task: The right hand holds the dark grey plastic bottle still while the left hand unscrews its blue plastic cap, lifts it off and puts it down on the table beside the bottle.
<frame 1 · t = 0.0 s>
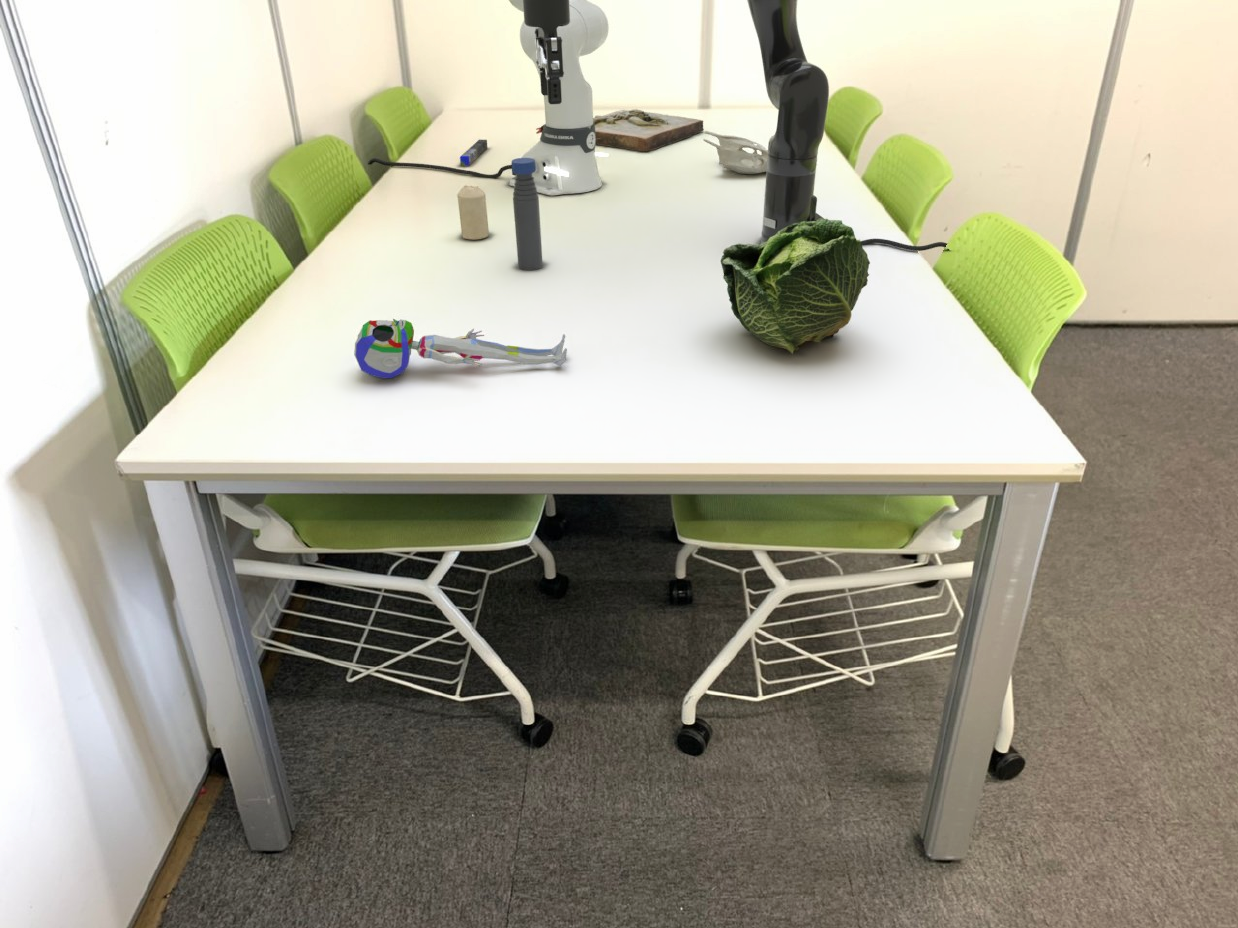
right hand: (551, 99, 154), 29 cm above the table, tool pointing down, fingers open, 8 cm apart
cap: (523, 162, 158), point 19 cm above the table, screwed on, not yet turned
plaque: (633, 136, 259), on the table
pillar: (474, 157, 240), on the table
candle: (475, 236, 184), on the table
bottle: (530, 266, 169), on the table
vegetable: (790, 339, 139), on the table
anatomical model: (752, 171, 224), on the table
toy: (464, 369, 132), on the table
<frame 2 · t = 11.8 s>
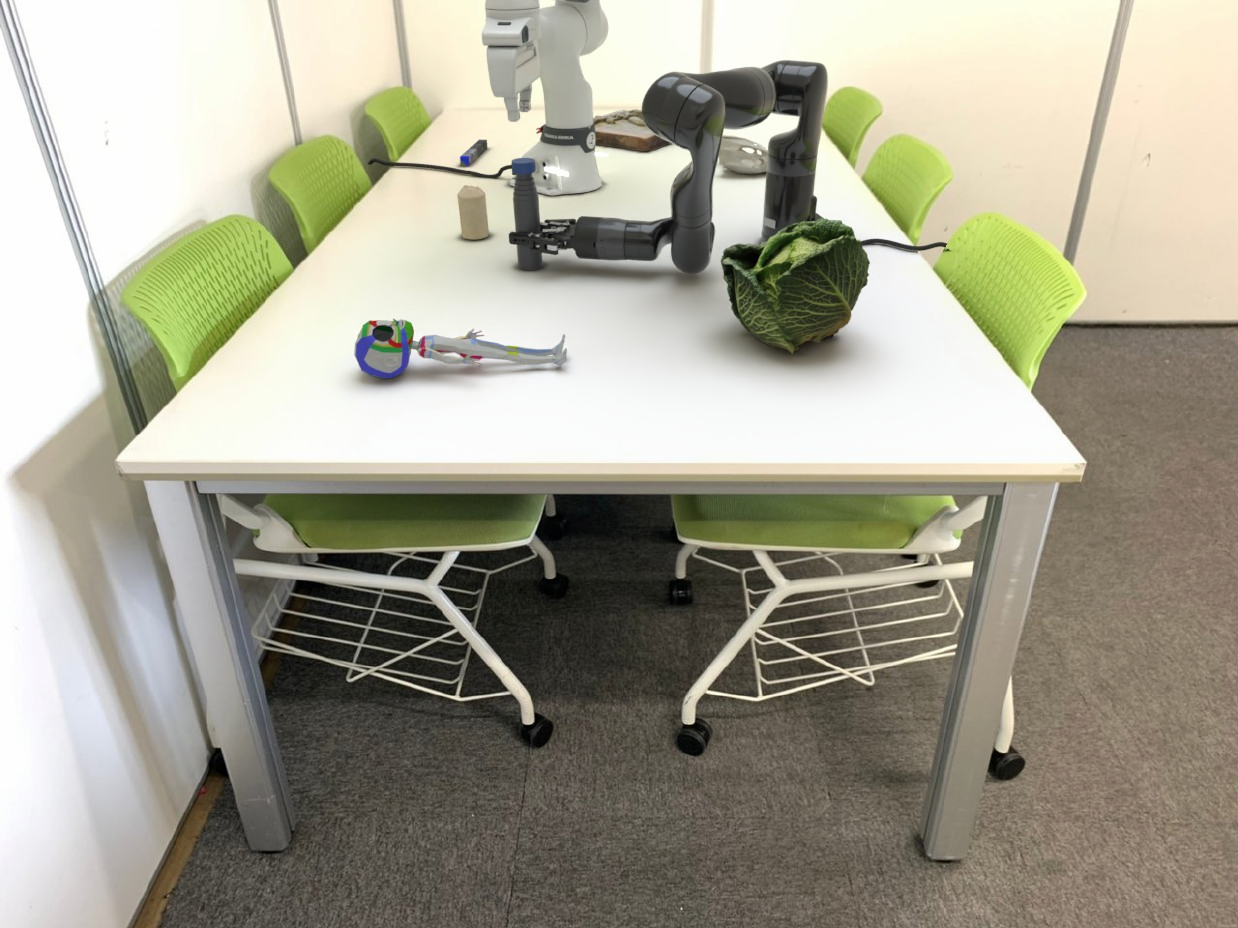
left hand: (519, 116, 154), 27 cm above the table, tool pointing down, fingers open, 6 cm apart
right hand: (514, 233, 166), 6 cm above the table, tool horizontal, fingers closed on bottle, 4 cm apart
bottle: (530, 266, 169), on the table, touching right hand
everything else where it was.
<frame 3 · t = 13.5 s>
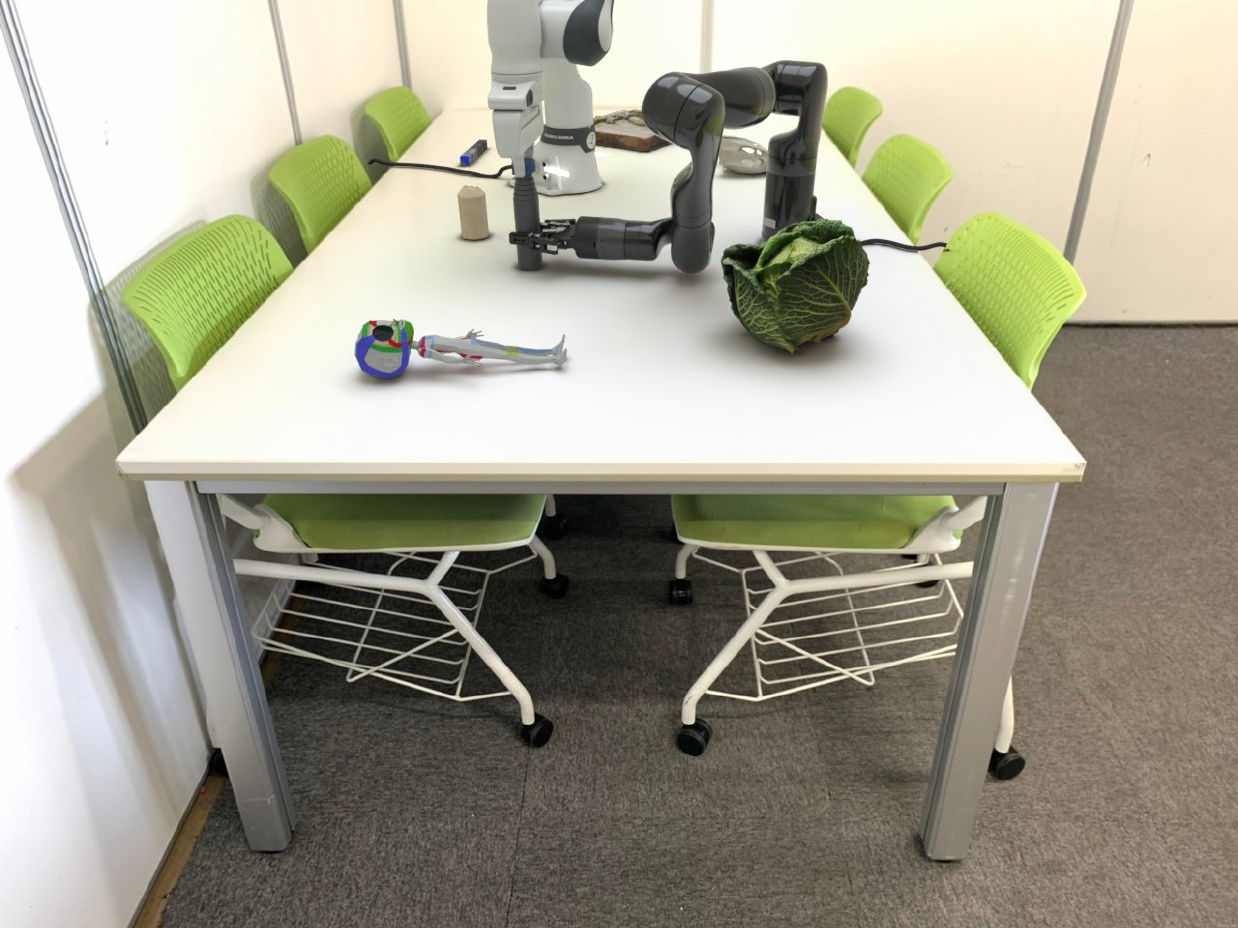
left hand: (524, 172, 159), 17 cm above the table, tool pointing down, fingers closed on cap, 4 cm apart
right hand: (514, 233, 166), 6 cm above the table, tool horizontal, fingers closed on bottle, 4 cm apart
cap: (523, 162, 158), point 19 cm above the table, screwed on, not yet turned, touching left hand
bottle: (530, 266, 169), on the table, touching right hand
everything else where it was.
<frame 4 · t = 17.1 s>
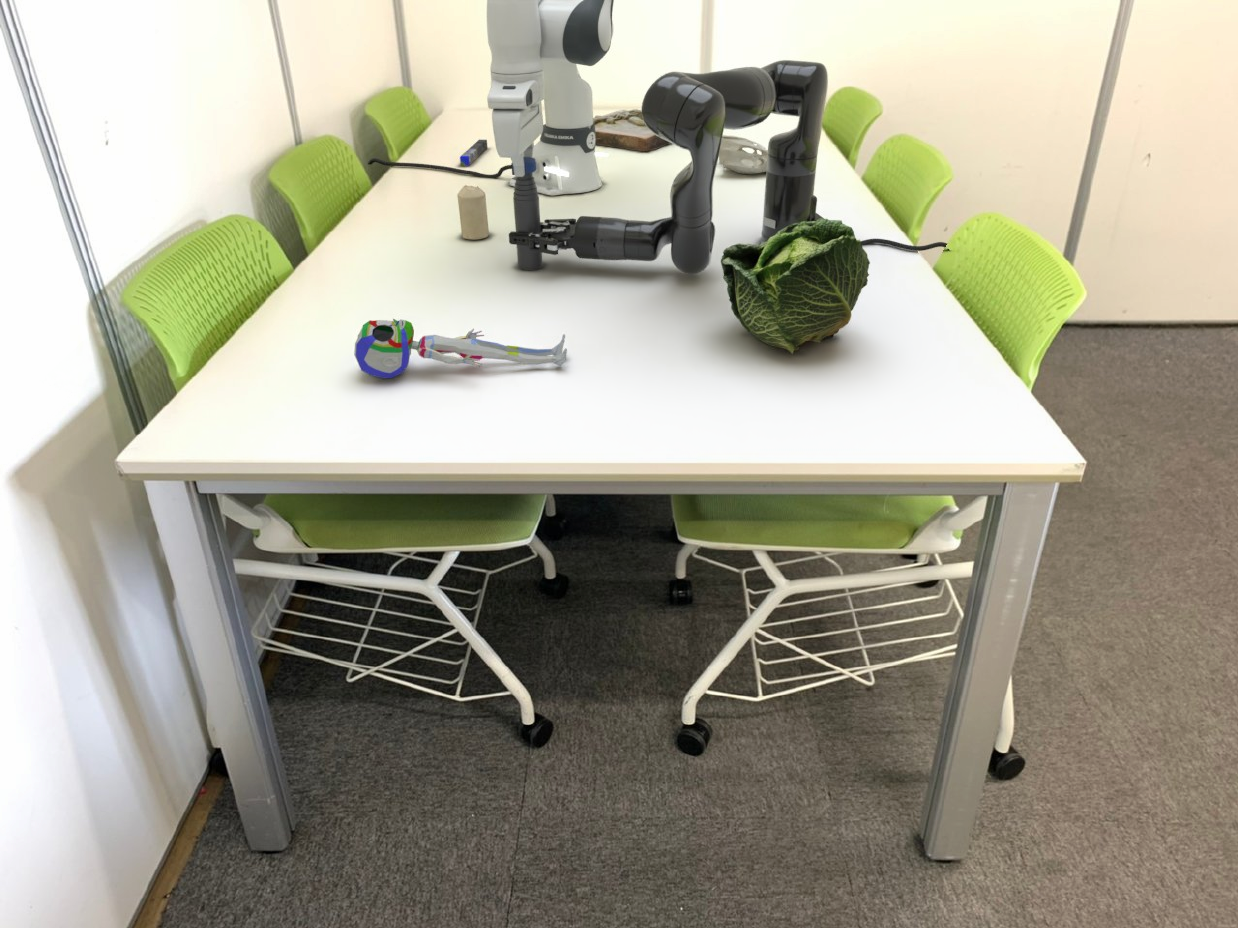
left hand: (523, 172, 159), 17 cm above the table, tool pointing down, fingers closed on cap, 4 cm apart
right hand: (514, 233, 166), 6 cm above the table, tool horizontal, fingers closed on bottle, 4 cm apart
cap: (523, 161, 158), point 19 cm above the table, turned 93° so far, risen 0.1 cm, still on its thread, touching left hand
bottle: (530, 266, 169), on the table, touching right hand
everything else where it was.
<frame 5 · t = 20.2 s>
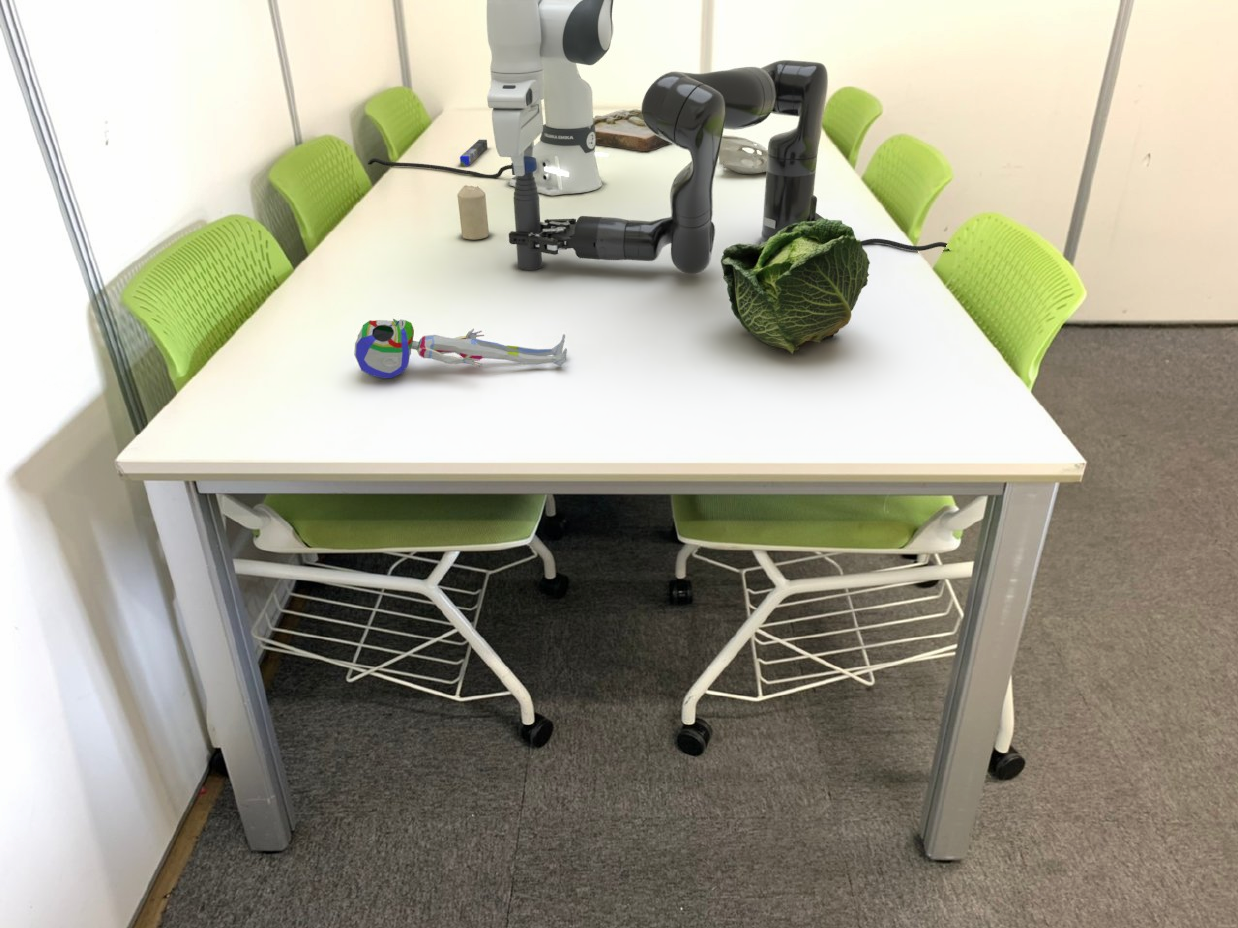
left hand: (523, 171, 159), 17 cm above the table, tool pointing down, fingers closed on cap, 4 cm apart
right hand: (514, 233, 166), 6 cm above the table, tool horizontal, fingers closed on bottle, 4 cm apart
cap: (524, 161, 158), point 19 cm above the table, turned 186° so far, risen 0.2 cm, still on its thread, touching left hand
bottle: (530, 265, 169), on the table, touching right hand
everything else where it was.
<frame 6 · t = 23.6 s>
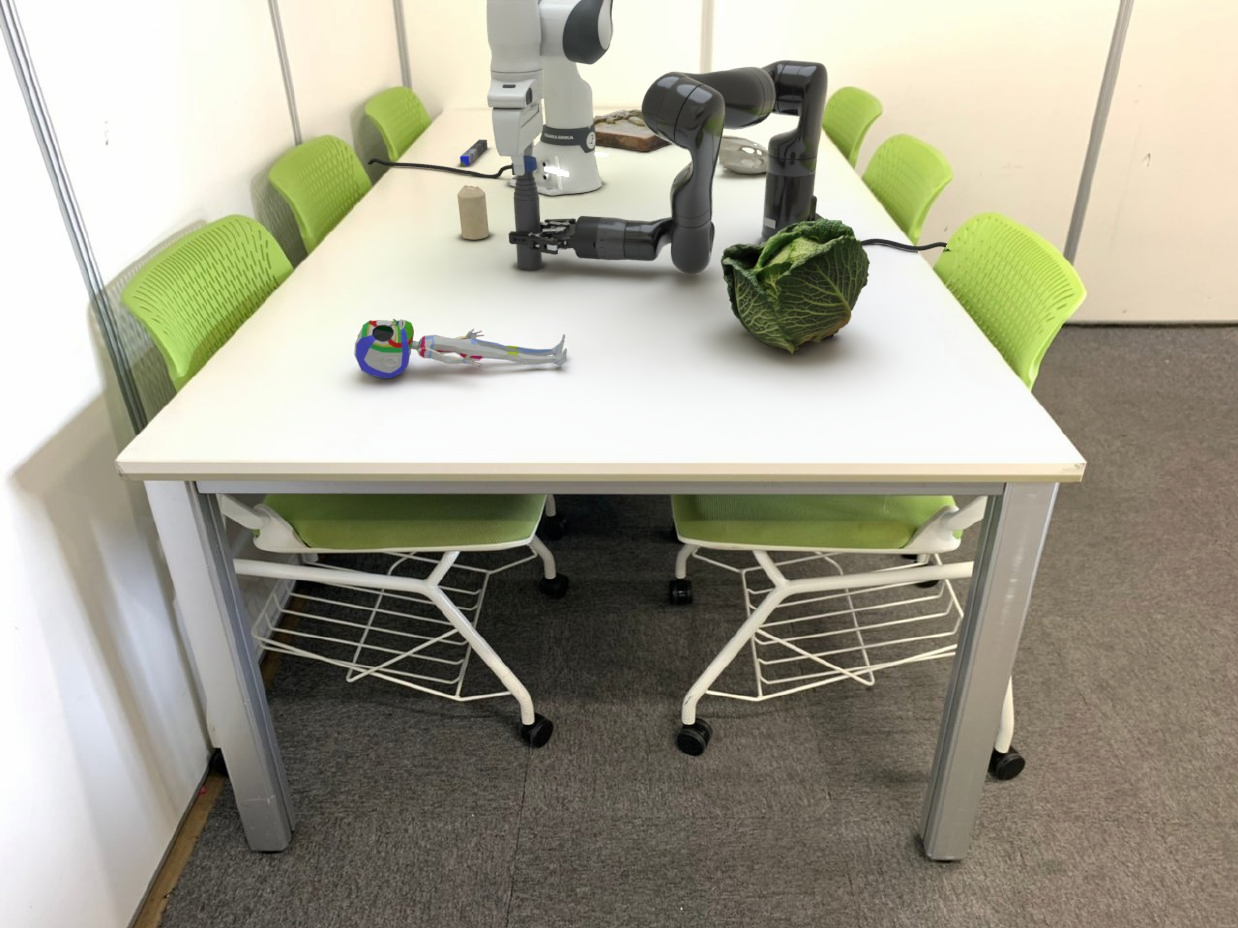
left hand: (523, 170, 159), 18 cm above the table, tool pointing down, fingers closed on cap, 4 cm apart
right hand: (514, 233, 166), 6 cm above the table, tool horizontal, fingers closed on bottle, 4 cm apart
cap: (524, 160, 158), point 19 cm above the table, turned 282° so far, risen 0.3 cm, still on its thread, touching left hand
bottle: (529, 265, 169), on the table, touching right hand
everything else where it was.
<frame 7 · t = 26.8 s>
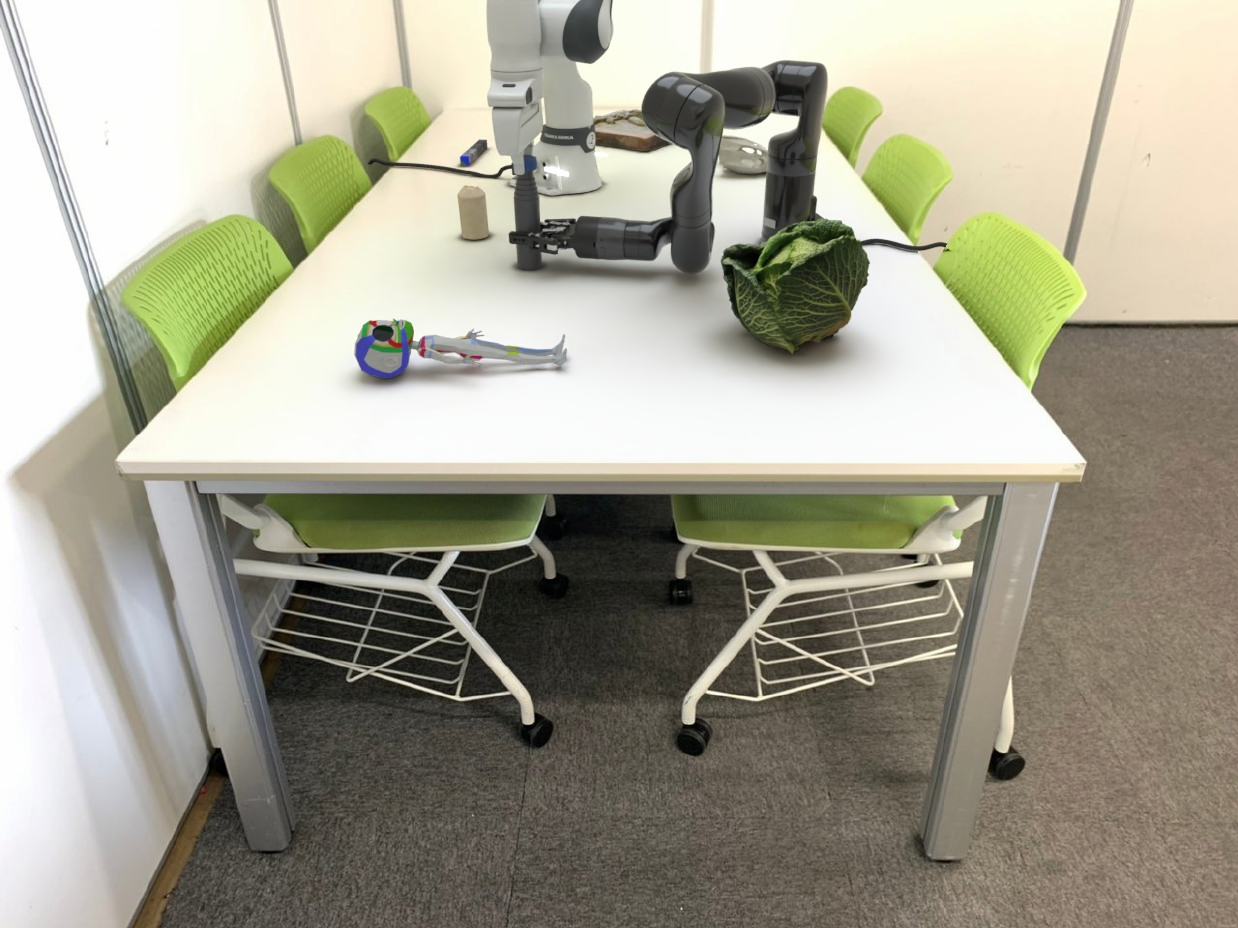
left hand: (523, 170, 159), 18 cm above the table, tool pointing down, fingers closed on cap, 4 cm apart
right hand: (514, 233, 166), 6 cm above the table, tool horizontal, fingers closed on bottle, 4 cm apart
cap: (524, 159, 158), point 20 cm above the table, turned 376° so far, risen 0.4 cm, still on its thread, touching left hand
bottle: (529, 265, 169), on the table, touching right hand
everything else where it was.
when the left hand's fingers open (2 cm above the table, at t = 33.5 s): cap drops 2 cm, point 2 cm above the table.
when the right hand's fingers open (6 cm above the table, at t = 34.6 s): bottle stays where it is, on the table.
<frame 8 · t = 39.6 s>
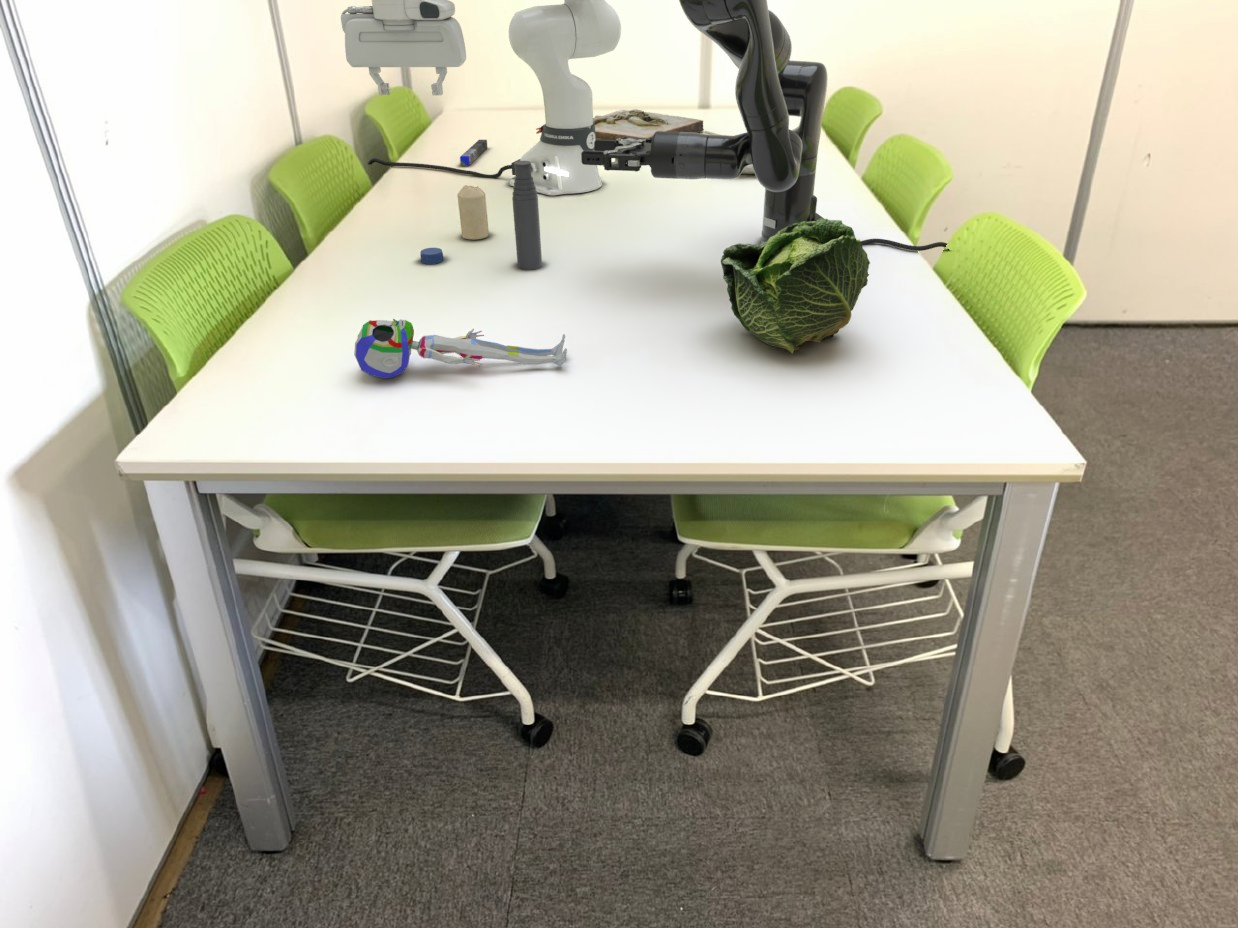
left hand: (411, 95, 156), 30 cm above the table, tool pointing down, fingers open, 8 cm apart
right hand: (588, 151, 155), 21 cm above the table, tool horizontal, fingers open, 8 cm apart
cap: (431, 252, 171), point 2 cm above the table, off its thread
bottle: (529, 265, 169), on the table
everything else where it was.
at the end: cap came off its thread; cap point 1.6 cm above the table; the left hand is holding nothing; the right hand is holding nothing; bottle tilted 0°; bottle moved 0.2 cm from its start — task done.
